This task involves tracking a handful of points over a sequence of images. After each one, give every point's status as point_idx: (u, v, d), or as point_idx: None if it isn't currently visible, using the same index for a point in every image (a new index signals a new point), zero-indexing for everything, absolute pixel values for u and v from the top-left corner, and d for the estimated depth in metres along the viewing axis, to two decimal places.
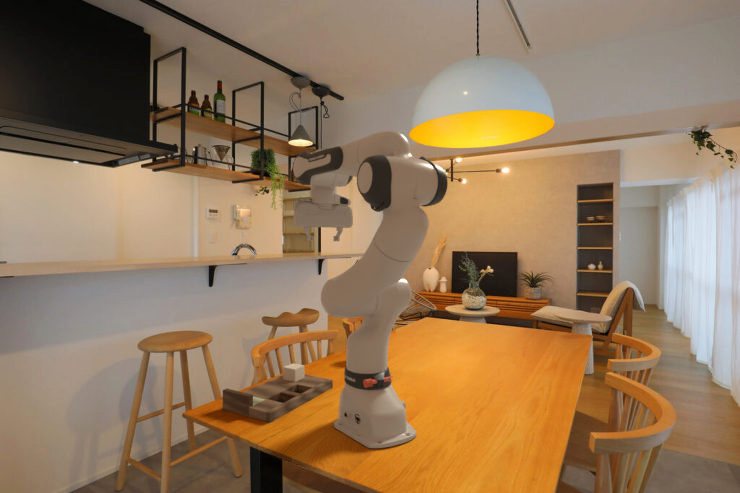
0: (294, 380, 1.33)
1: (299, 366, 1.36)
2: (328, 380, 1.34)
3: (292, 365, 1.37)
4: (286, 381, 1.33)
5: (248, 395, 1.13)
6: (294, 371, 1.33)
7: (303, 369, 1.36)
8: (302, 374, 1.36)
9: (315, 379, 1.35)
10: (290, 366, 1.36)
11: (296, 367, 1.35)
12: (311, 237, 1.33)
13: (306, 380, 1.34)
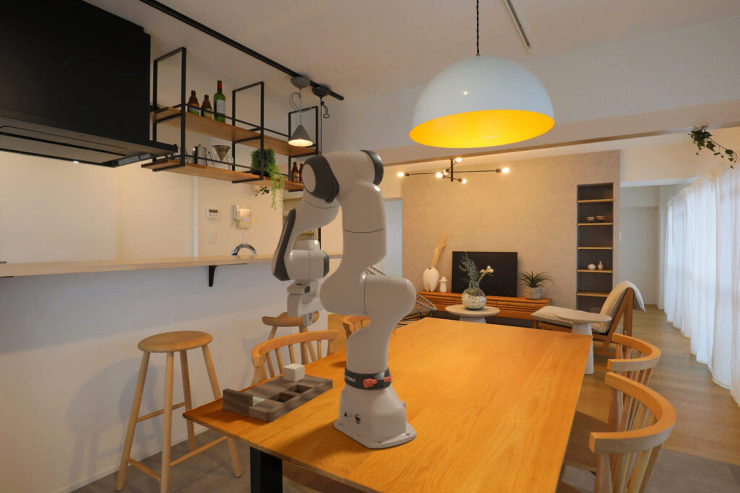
0: (294, 380, 1.33)
1: (299, 366, 1.36)
2: (328, 380, 1.34)
3: (292, 365, 1.37)
4: (286, 381, 1.33)
5: (248, 395, 1.13)
6: (294, 371, 1.33)
7: (303, 369, 1.36)
8: (302, 374, 1.36)
9: (315, 379, 1.35)
10: (290, 366, 1.36)
11: (296, 367, 1.35)
12: None
13: (306, 380, 1.34)
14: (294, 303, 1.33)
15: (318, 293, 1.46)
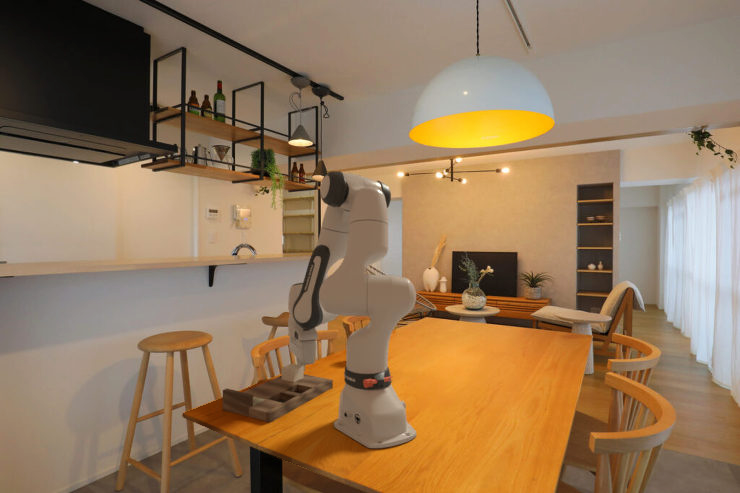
0: (293, 380, 1.32)
1: (298, 366, 1.35)
2: (328, 380, 1.34)
3: (291, 365, 1.37)
4: (286, 381, 1.33)
5: (248, 395, 1.13)
6: (292, 371, 1.32)
7: (302, 369, 1.36)
8: (301, 374, 1.35)
9: (315, 379, 1.35)
10: (289, 366, 1.35)
11: (295, 367, 1.35)
12: None
13: (306, 380, 1.34)
14: (311, 350, 1.31)
15: None
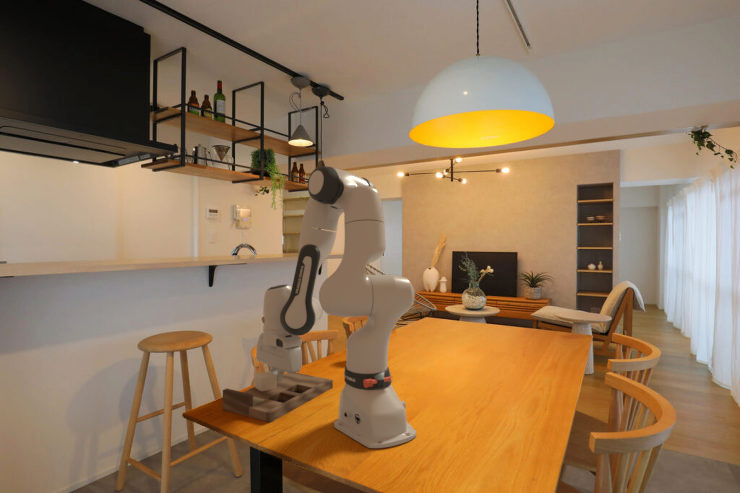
0: (261, 390, 1.24)
1: (270, 375, 1.26)
2: (328, 380, 1.34)
3: (265, 373, 1.28)
4: (286, 381, 1.33)
5: (248, 395, 1.13)
6: (260, 380, 1.24)
7: (274, 379, 1.26)
8: (273, 384, 1.26)
9: (315, 379, 1.35)
10: (262, 374, 1.27)
11: (266, 375, 1.26)
12: None
13: (306, 380, 1.34)
14: (298, 357, 1.22)
15: None
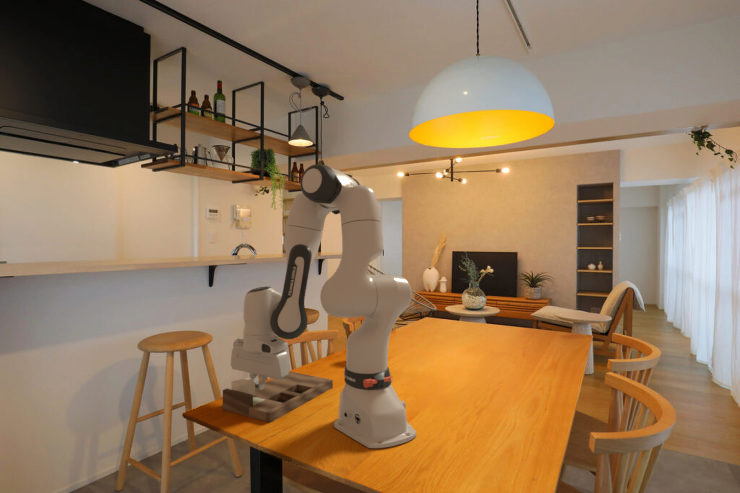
0: None
1: (248, 382, 1.20)
2: (328, 380, 1.34)
3: (243, 380, 1.22)
4: (286, 381, 1.33)
5: (248, 395, 1.13)
6: (237, 388, 1.17)
7: (252, 386, 1.20)
8: (251, 392, 1.20)
9: (315, 379, 1.35)
10: (239, 381, 1.21)
11: (243, 383, 1.19)
12: (255, 385, 1.21)
13: (306, 380, 1.34)
14: (285, 362, 1.17)
15: None
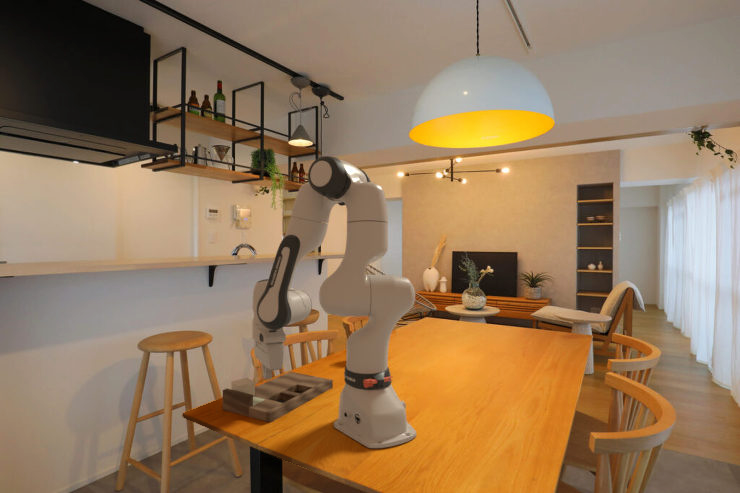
0: None
1: (248, 382, 1.20)
2: (328, 380, 1.34)
3: (243, 380, 1.22)
4: (286, 381, 1.33)
5: (248, 395, 1.13)
6: (237, 388, 1.17)
7: (252, 386, 1.20)
8: (251, 392, 1.20)
9: (315, 379, 1.35)
10: (239, 381, 1.21)
11: (243, 383, 1.19)
12: (264, 374, 1.24)
13: (306, 380, 1.34)
14: (278, 354, 1.16)
15: None
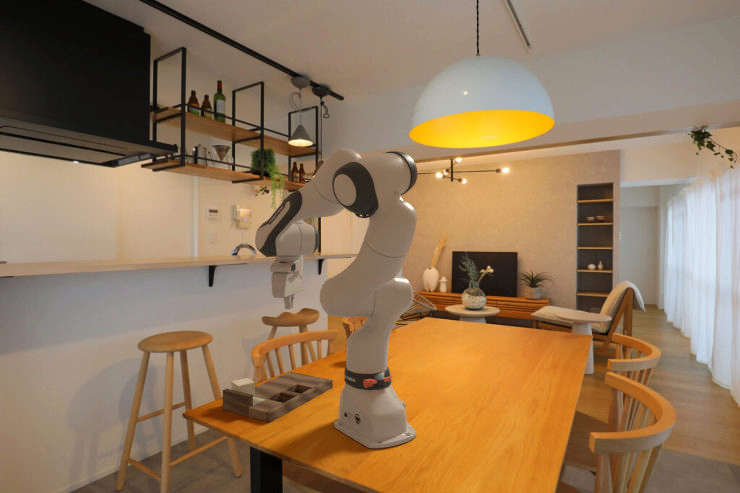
0: None
1: (248, 382, 1.20)
2: (328, 380, 1.34)
3: (243, 380, 1.22)
4: (286, 381, 1.33)
5: (248, 395, 1.13)
6: (237, 388, 1.17)
7: (252, 386, 1.20)
8: (251, 392, 1.20)
9: (315, 379, 1.35)
10: (239, 381, 1.21)
11: (243, 383, 1.19)
12: None
13: (306, 380, 1.34)
14: (280, 282, 1.21)
15: (298, 273, 1.34)
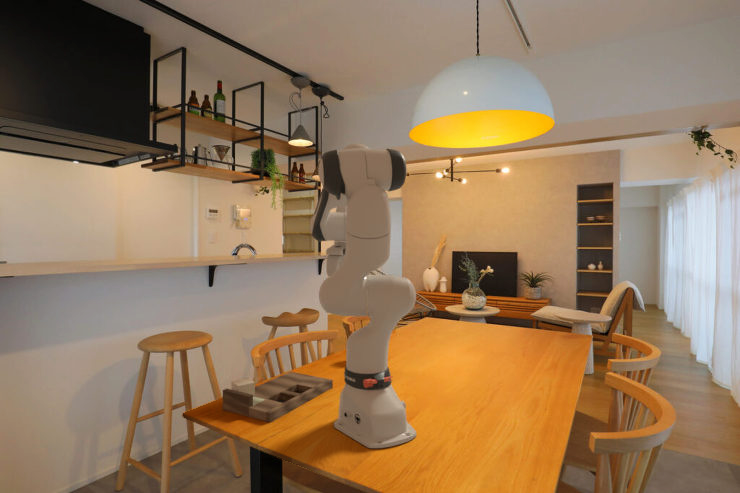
0: None
1: (248, 382, 1.20)
2: (328, 380, 1.34)
3: (243, 380, 1.22)
4: (286, 381, 1.33)
5: (248, 395, 1.13)
6: (237, 388, 1.17)
7: (252, 386, 1.20)
8: (251, 392, 1.20)
9: (315, 379, 1.35)
10: (239, 381, 1.21)
11: (243, 383, 1.19)
12: None
13: (306, 380, 1.34)
14: (333, 264, 1.40)
15: None
